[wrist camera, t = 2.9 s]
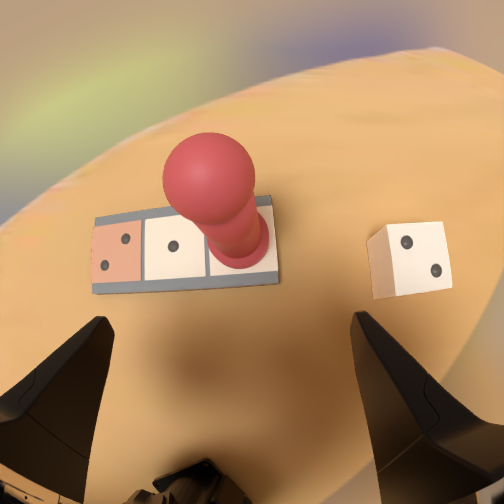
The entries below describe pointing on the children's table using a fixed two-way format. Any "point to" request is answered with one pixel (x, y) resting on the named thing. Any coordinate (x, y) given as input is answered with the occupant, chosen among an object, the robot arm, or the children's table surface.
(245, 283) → the board
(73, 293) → the children's table surface
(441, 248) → the die
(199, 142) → the pawn
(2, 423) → the robot arm
